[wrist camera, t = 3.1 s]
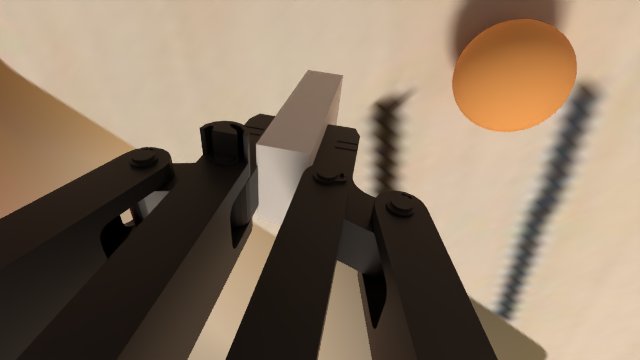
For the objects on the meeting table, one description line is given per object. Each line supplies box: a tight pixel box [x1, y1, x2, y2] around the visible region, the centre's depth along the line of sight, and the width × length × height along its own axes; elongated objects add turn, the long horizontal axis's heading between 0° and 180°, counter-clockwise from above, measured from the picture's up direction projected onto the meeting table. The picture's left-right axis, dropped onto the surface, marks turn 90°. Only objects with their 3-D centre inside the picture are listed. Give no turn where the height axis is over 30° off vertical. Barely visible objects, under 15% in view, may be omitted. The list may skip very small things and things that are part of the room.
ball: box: [452, 19, 577, 132], centre depth 19 cm, size 6×6×6 cm
